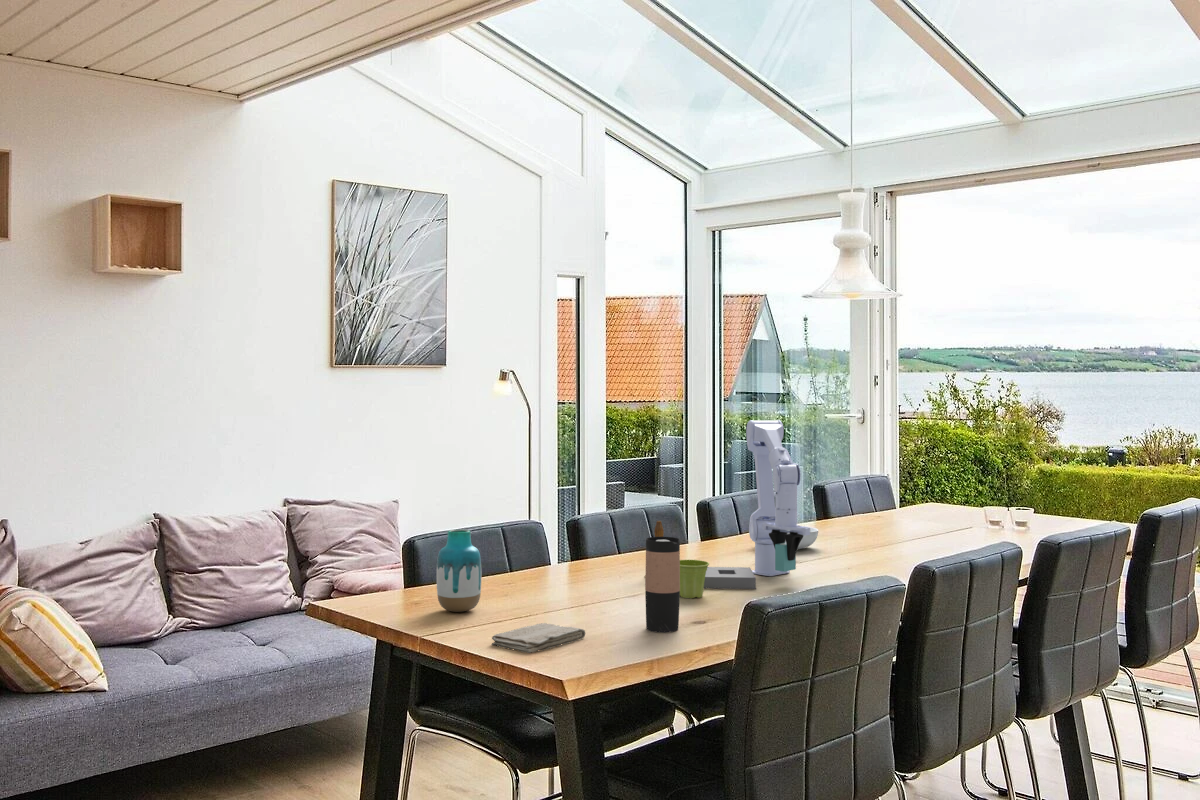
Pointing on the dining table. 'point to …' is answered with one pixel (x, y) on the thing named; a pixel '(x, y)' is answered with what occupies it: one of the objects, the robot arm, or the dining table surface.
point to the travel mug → (662, 584)
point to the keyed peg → (783, 558)
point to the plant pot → (692, 578)
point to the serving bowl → (808, 538)
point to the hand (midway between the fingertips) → (785, 559)
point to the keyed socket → (730, 578)
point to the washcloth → (537, 637)
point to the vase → (459, 573)
